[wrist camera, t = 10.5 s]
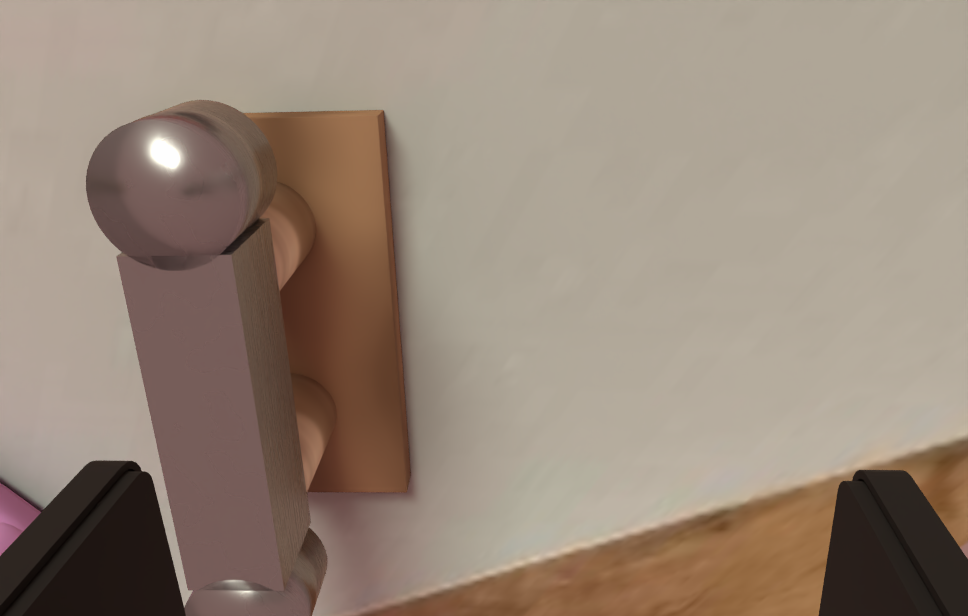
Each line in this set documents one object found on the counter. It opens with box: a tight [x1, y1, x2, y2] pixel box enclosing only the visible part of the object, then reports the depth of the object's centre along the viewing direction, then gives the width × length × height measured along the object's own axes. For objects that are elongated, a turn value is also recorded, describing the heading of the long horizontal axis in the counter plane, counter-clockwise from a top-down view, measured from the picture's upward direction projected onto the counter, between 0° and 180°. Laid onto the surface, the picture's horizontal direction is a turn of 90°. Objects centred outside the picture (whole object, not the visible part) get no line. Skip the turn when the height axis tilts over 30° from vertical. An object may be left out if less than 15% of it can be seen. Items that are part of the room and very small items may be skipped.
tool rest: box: [133, 110, 411, 492], centre depth 34 cm, size 10×18×7 cm, turn 2°
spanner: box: [86, 100, 327, 616], centre depth 29 cm, size 5×21×4 cm, turn 2°
